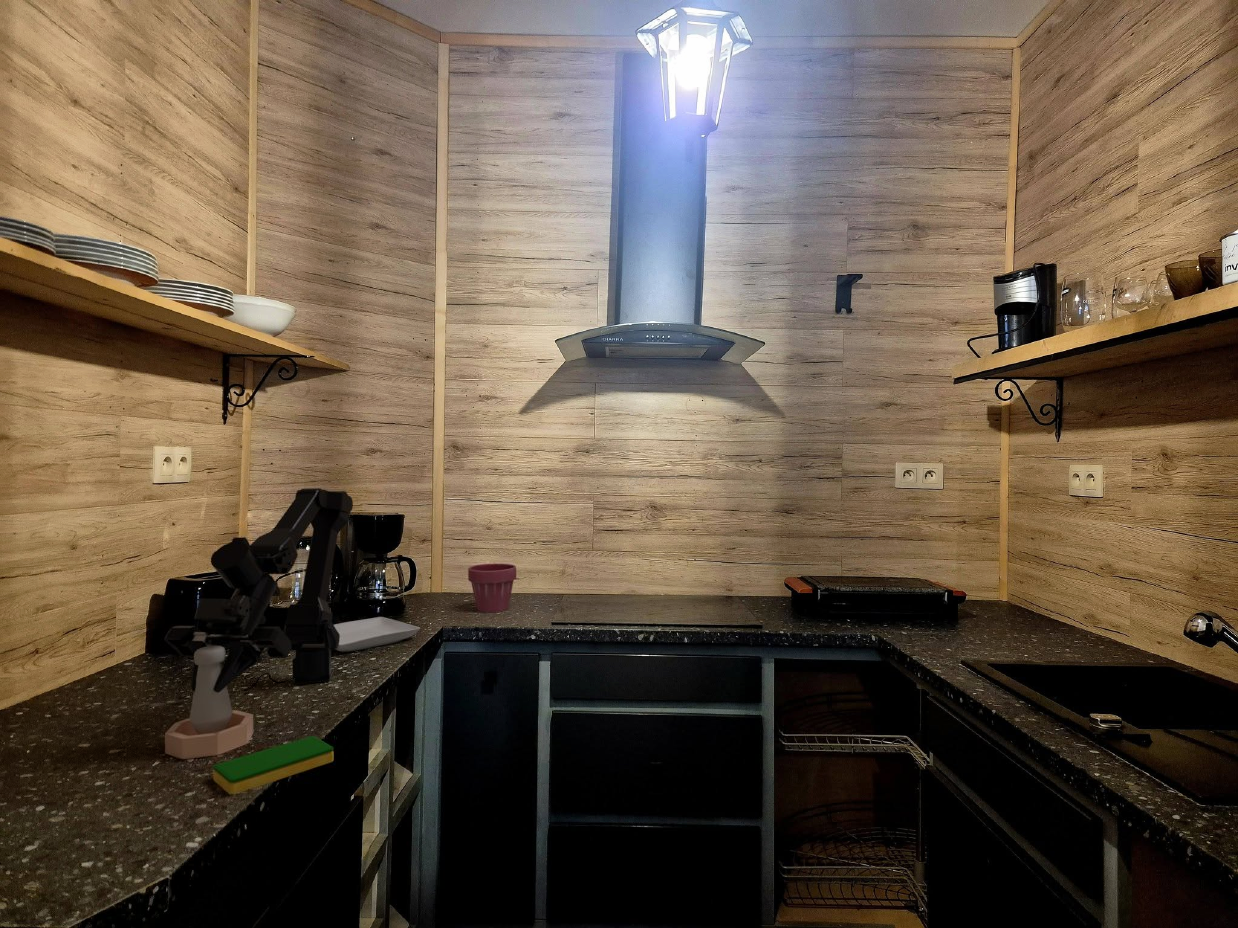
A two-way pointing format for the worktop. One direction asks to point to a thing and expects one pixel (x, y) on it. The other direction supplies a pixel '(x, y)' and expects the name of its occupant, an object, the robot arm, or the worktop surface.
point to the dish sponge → (272, 764)
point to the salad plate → (372, 633)
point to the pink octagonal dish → (208, 737)
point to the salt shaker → (209, 693)
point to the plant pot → (492, 586)
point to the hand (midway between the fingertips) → (204, 691)
